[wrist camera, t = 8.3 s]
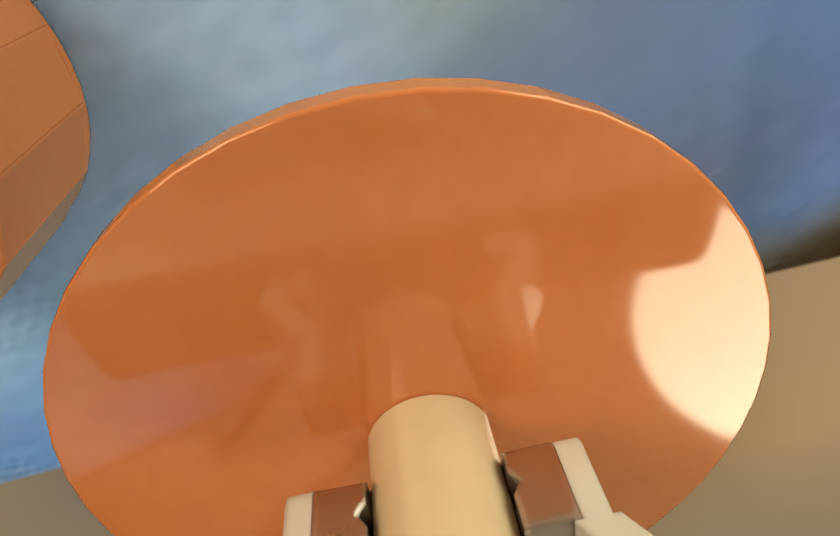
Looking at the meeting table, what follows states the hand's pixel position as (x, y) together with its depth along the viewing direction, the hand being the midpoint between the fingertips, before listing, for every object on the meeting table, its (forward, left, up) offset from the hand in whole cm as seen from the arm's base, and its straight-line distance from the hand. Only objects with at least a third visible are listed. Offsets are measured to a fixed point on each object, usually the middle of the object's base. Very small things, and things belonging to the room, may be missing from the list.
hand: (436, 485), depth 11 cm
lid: (0, 0, -2) cm, 2 cm away
